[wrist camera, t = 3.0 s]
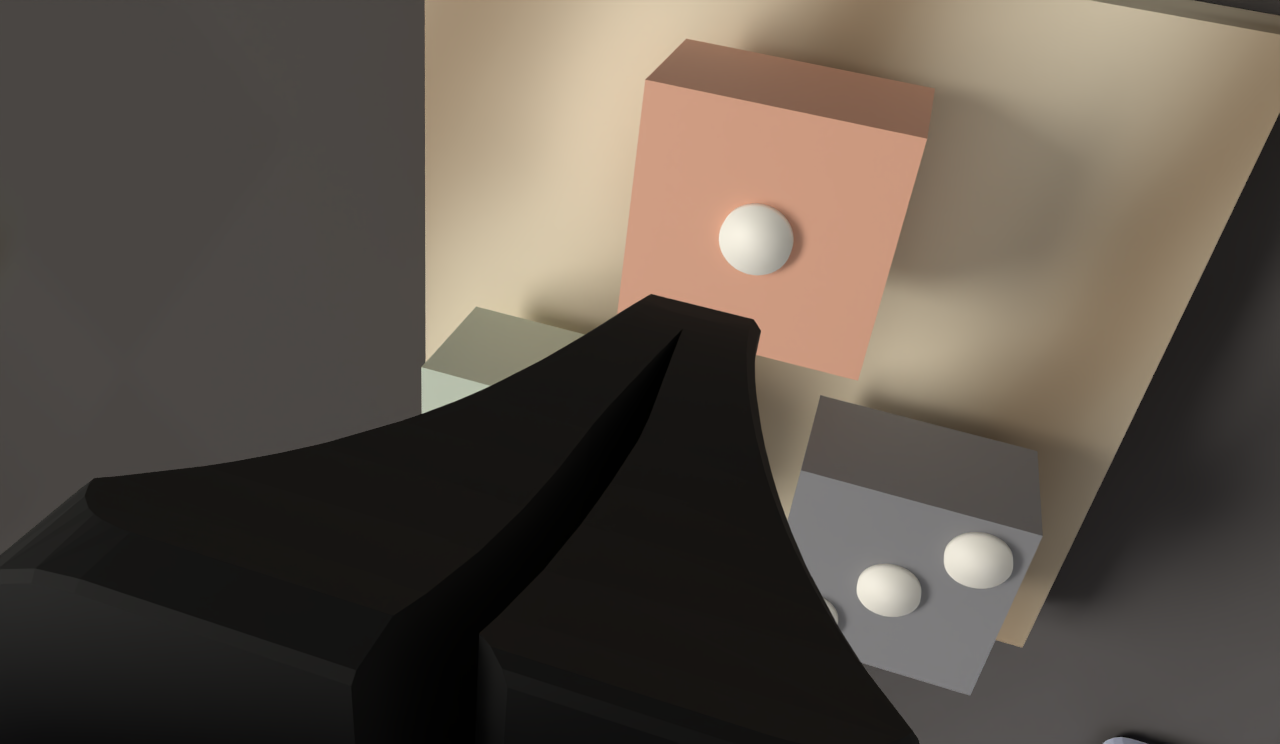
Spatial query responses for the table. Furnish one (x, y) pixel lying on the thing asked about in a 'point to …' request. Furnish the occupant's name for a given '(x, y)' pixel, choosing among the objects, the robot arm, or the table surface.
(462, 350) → the tile two
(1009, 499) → the tile three
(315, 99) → the table surface
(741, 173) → the tile one
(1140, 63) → the button board
